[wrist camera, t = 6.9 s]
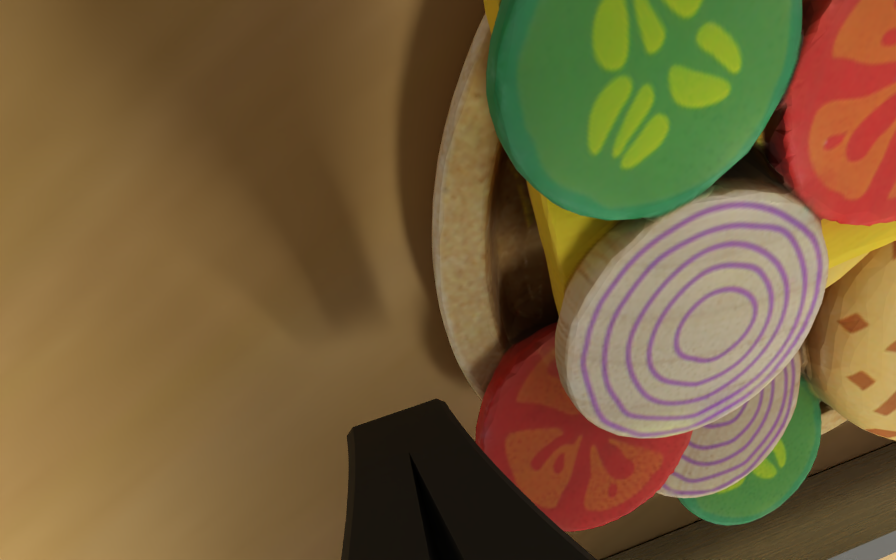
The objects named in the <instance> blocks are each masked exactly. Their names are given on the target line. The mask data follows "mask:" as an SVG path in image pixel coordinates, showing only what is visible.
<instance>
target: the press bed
mask: <svg viewBox="0 0 896 560" xmlns="http://www.w3.org/2000/svg"><path fill="white" fill-rule="evenodd" d="M894 552H896V443H893V444H891V445H888V446H886V447H883V448H881V449H879V450H876V451H874V452H871V453H869V454H866V455H864V456H861V457H859V458H856V459H854V460H851V461H849V462H846V463H844V464H841V465H839V466H836V467H834V468H831V469H829V470H826V471H824V472H821V473H819V474H816V475H814V476H811V477H809V478H806V479H805V480H804V481H803V482H802V484H801V485H800V486H799V488H798V489H797V490H796V491H795V492H794V493H793V494H792V495H791V496H790V497H789V498H788V499H787V500H786V501H785V502H784V503H783V504H781V505H780V506H779V507H778V508H776V509H775V510H774V511H772V512H770V513H768V514H766V515H765V516H763V517H761V518H759V519H756V520H754V521H751V522H749V523H745V524H740V525H729V526H726V525H719V524H714V523H711V522H708V521H706V520H701V521H699V522H696V523H694V524H691V525H689V526H686V527H684V528H681V529H679V530H676V531H674V532H671V533H669V534H666V535H664V536H662V537H659V538H657V539H654V540H652V541H649V542H647V543H644V544H642V545H639V546H637V547H634V548H632V549H629V550H627V551H624V552H622V553H619V554H617V555H614V556H612V557H609V558H607V559H604V560H878V559H880V558H883V557H885V556H887V555H890V554H892V553H894Z"/></svg>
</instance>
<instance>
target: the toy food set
mask: <svg viewBox="0 0 896 560" xmlns="http://www.w3.org/2000/svg"><path fill="white" fill-rule="evenodd" d="M483 1H484V7H485V14H484V16H483V19H482V21H481V23H480V25H479V27H478V29H477V32H476V34H475V37H474V39H473V41H472V44H471V46H470V49H469V52H468V54H467V57H466V60H465V63H464V65H463V68H462V71H461V74H460V77H459V80H458V83H457V86H456V89H455V92H454V95H453V98H452V101H451V105H450V109H449V113H448V116H447V120H446V124H445V128H444V132H443V137H442V141H441V146H440V151H439V156H438V161H437V169H436V178H435V186H434V195H433V210H432V258H433V269H434V277H435V285H436V291H437V297H438V302H439V307H440V312H441V315H442V319H443V323H444V327H445V330H446V333H447V336H448V339H449V342H450V345H451V348H452V350H453V353H454V355H455V357H456V360H457V362H458V364H459V366H460V368H461V370H462V372H463V374H464V375H465V377H466V379H467V381H468V383H469V384H470V386H471V387H472V388H473V390H474V391H475V393H476V394H477V395H478V397H479V398H480V399H481V401H482V404H481V408H480V412H479V416H478V421H477V426H476V441H475V442H476V444H477V445H478V446H479V447H480V448H481V449H482V450H483V451H484V453H485V454H486V455H487V456H488V457H489V458H490V459H491V460H492V462H493V463H494V464H495V465H496V466H497V467H498V468H499V469H500V470H501V471H502V472H503V473H504V474H505V475H506V476H507V477H508V478H509V479H510V480H511V481H512V482H513V483H514V484H515V485H516V486H517V487H518V488H519V489H520V490H521V491H522V492H523V493H524V494H525V495H526V496H527V497H528V498H529V499H530V500H531V501H532V502H533V503H534V504H535V505H536V506H537V507H538V508H539V509H540V510H541V511H542V512H543V513H544V514H545V515H547V516H548V517H549V518H550V519H551V520H552V521H553V522H554V523H555V524H556V525H557V526H558V527H560V528H561V529H562V530H563V531H564V532H567V531H571V532H574V531H580V530H586V529H593V528H595V527H599V526H604V525H605V524H607V523H609V522H612V521H615V520H618V519H619V518H620V517H621V516H625V515H627V514H628V513H630V512H632V511H634V510H635V509H636V508H637V507H638V506H640V505H641V504H644V503H645V502H646V501H647V500H648V499H649V498H652V497H653V496H654V494H655V493H656V492H657V493H659V494H662V495H664V496H670V497H677V498H678V499H679V501H680V502H681V503H682V504H683V505H684V506H685V507H686V508H687V509H688V510H689V511H690V512H692V513H693V514H695V515H696V516H697V517H699V518H701V519H703V520H706V521H708V522H711V523H714V524H719V525H726V526H729V525H740V524H745V523H749V522H751V521H754V520H756V519H759V518H761V517H763V516H765V515H766V514H768V513H770V512H772V511H774V510H775V509H776V508H778V507H779V506H780V505H781V504H783V503H784V502H785V501H786V500H787V499H788V498H789V497H790V496H791V495H792V494H793V493H794V492H795V491H796V490H797V489H798V488H799V486H800V485H801V484H802V482H803V481H804V480H805V478H806V477H807V475H808V473H809V472H810V470H811V468H812V465H813V463H814V461H815V459H816V457H817V452H818V449H819V446H820V438H821V435H822V434H824V433H826V432H828V431H830V430H832V429H834V428H835V427H837V426H839V425H840V424H842V423H844V422H845V421H847V420H848V421H850V422H851V423H853V424H855V425H856V426H858V427H860V428H861V429H863V430H866V431H868V432H871V433H873V434H875V435H878V436H881V437H885V438H888V439H891V440H895V441H896V0H483Z"/></svg>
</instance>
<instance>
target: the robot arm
mask: <svg viewBox="0 0 896 560" xmlns="http://www.w3.org/2000/svg"><path fill="white" fill-rule="evenodd" d="M347 442H348V456H349V480H348V499H347V514H346V524H345V532H344V541H343V549H342V558H341V560H596V559H595V558H594V557H593V556H592V555H590V554H589V553H588V552H587V551H586V550H585V549H584V548H582V547H581V546H580V545H579V544H578V543H577V542H576V541H574V540H573V539H572V538H571V537H570V536H569V535H568V534H566V533H565V532H564V531H563V530H562V529H561V528H560V527H558V526H557V525H556V524H555V523H554V522H553V521H552V520H551V519H550V518H549V517H548V516H547V515H545V514H544V513H543V512H542V511H541V510H540V509H539V508H538V507H537V506H536V505H535V504H534V503H533V502H532V501H531V500H530V499H529V498H528V497H527V496H526V495H525V494H524V493H523V492H522V491H521V490H520V489H519V488H518V487H517V486H516V485H515V484H514V483H513V482H512V481H511V480H510V479H509V478H508V477H507V476H506V475H505V474H504V473H503V472H502V471H501V470H500V469H499V468H498V467H497V466H496V465H495V464H494V463H493V462H492V460H491V459H490V458H489V457H488V456H487V455H486V454H485V453H484V451H483V450H482V449H481V448H480V447H479V446H478V445H477V444H476V442H475V441H474V440H473V439H472V438H471V436H470V435H469V434H468V433H467V432H466V430H465V429H464V428H463V427H462V425H461V424H460V423H459V421H458V420H457V419H456V417H455V416H454V415H453V413H452V412H451V410H450V409H449V407H448V406H447V404H446V403H445V402H443V401H441V400H439V399H434V400H431V401H428V402H425V403H422V404H419V405H416V406H414V407H411V408H408V409H405V410H402V411H399V412H396V413H393V414H390V415H387V416H384V417H382V418H379V419H376V420H373V421H370V422H367V423H364V424H361V425H358V426H355V427H353V428H352V429H351V431H350V432H349V434H348V435H347Z"/></svg>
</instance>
